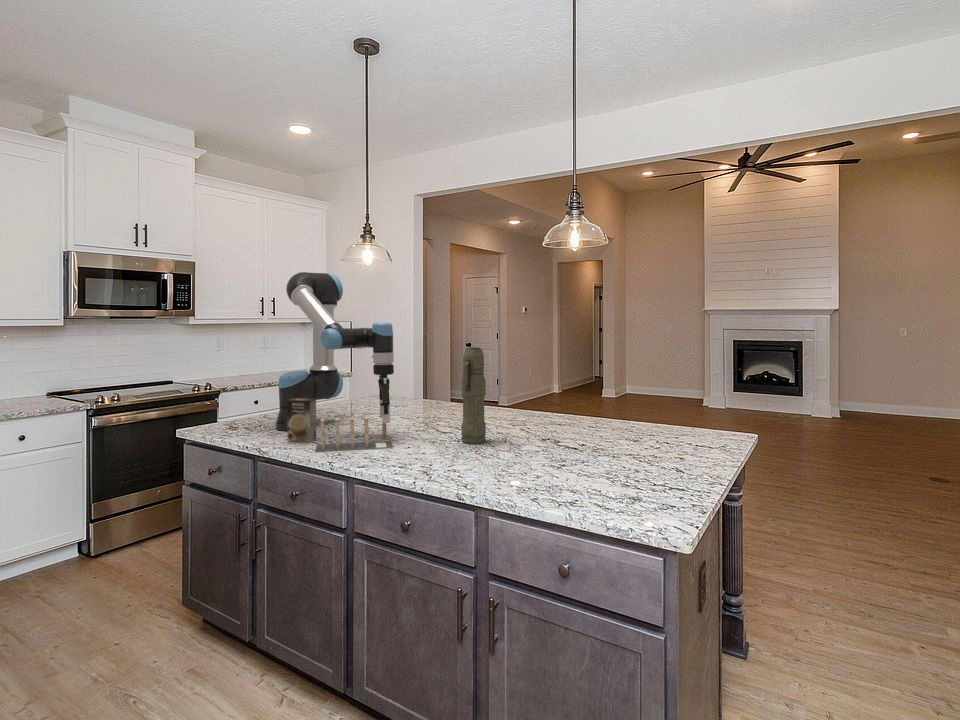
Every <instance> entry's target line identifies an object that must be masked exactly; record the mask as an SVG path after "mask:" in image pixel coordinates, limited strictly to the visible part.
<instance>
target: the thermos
mask: <svg viewBox="0 0 960 720" xmlns="http://www.w3.org/2000/svg"><path fill="white" fill-rule="evenodd" d="M462 359H463V360H462V367H463V368H462V369H463V373H462V374H463V376H462V379H461V396H462V422H461V436H462V439H461V442H462V443H463V444H465V445H482V444H485V443H486V436H487V435H486V428H487V427H486V426H487V425H486V421H485V396H486V393H487V391H486V390H487V389H486V385H487V383H486V378H485V372H484V371H485V355H484V352H483V349H482V348H480V347H475V346H474V347H467V348H465V349H464V353H463V356H462Z"/></svg>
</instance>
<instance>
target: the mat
mask: <svg viewBox="0 0 960 720" xmlns="http://www.w3.org/2000/svg"><path fill="white" fill-rule="evenodd" d="M385 449H394V446H393V443H392V441H391V440H377V441H373V440H372V441H369V447H367V448H365V441H358V442H355V441H354V448H351V442H340V449H336V442H335V443H325V450H321V443H320V444H319V443H318V444H316V446H315V451H314V453H328V452H329V453H330V452H331V453H332V452H348V451H370V450H385Z"/></svg>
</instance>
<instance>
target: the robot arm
mask: <svg viewBox="0 0 960 720" xmlns="http://www.w3.org/2000/svg"><path fill="white" fill-rule="evenodd" d="M285 291H286V295H287V296H288V299H289V300H290V302H291V303H292V304H293V305H294V306H298V307H299V308H300V310H301V311H302V312H303V313H304V314H305V316H306V317H307V318H308V319H309V320H310V322H311V323H312V365H311V366H310V367H309V372H308V371H307V370H296V371H295V370H293V371H290V372H288V371H287V372H284V373H283V374H281V375H280V376H279V378H278V397H279V399H278V400H279V402H278V405H279V411H278V414H277V418H276V420H275V430H277V431H283V432H284V431H286V432H287V400H289V399H292V398H313V399H316V401H320V400H329V399H333V398H334V399H335V398H337V397H339V395H340V394H341V392H342V390H343V386H344V379H343V376H342V373H341V372H340V371H339V370H338V367H337V366H336V365H335V363H334V361H335V356H334V355H335V350H343V349H345V350H346V349H360V348H361V349H363V348H364V349H366V348H370V349H371V348H372V352H373V354H372V355H371V358H372V360H373V362H372V363H373V366H372V367H373V375H375V376H378V380H377V383H378V389H379V393H378V394H379V395H378V398H379V417H380V418H381V424H382V423H386V424H391V420H390V419H391V415H390V414H391V412H390V406H391V405H390V404H391V402H390V378H388V375H393V374H395V369H394V368H395V367H394V364H393V363H394V361H395V359H394V355H395V354H394V329H393V324H392V323H391V322H374V323H373V324H372V325H371V326H372V327H359V328H358V327H355V328H354V327H353V328H352V327H351V328H345V327H342V325H341V324H340V323H339V322H338V320H337V319H336V317H334V315H335V314H334V310H335V309H336V307H337V306H338V302H339V301H341V299H342V298H343V297H342V296H343V293H344V292H343V291H344V288H343V284H342V282H341V279H340V278H339V277H338V276H337V275H335V274H333V273H326V272H324V273H323V272H307V271H305V272H304V271H302V272H301V271H300V272H297V273H295V274H294V275H292V276H291V277H290V278H289V280H288V282H287V284H286V290H285Z"/></svg>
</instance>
